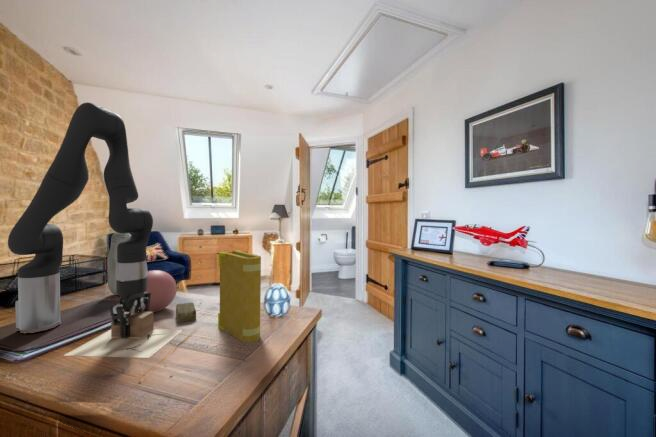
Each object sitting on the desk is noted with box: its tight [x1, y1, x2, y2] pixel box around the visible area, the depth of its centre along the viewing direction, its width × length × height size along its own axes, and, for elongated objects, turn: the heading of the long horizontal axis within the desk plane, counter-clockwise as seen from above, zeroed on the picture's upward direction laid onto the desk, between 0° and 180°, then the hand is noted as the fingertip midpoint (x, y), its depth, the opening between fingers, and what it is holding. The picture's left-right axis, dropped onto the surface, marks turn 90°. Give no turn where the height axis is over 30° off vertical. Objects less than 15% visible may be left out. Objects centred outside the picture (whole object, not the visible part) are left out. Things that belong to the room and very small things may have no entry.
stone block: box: [175, 302, 197, 324], centre depth 98 cm, size 6×12×5 cm, turn 32°
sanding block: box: [110, 311, 154, 339], centre depth 83 cm, size 9×5×6 cm, turn 89°
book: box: [217, 249, 262, 343], centre depth 89 cm, size 17×7×25 cm, turn 47°
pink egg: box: [144, 269, 178, 313], centre depth 107 cm, size 15×20×15 cm
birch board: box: [63, 328, 184, 359], centre depth 79 cm, size 22×16×2 cm
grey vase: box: [106, 232, 132, 296], centre depth 124 cm, size 10×10×28 cm
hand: (132, 332), depth 83 cm, fingers closed on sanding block, 5 cm apart
